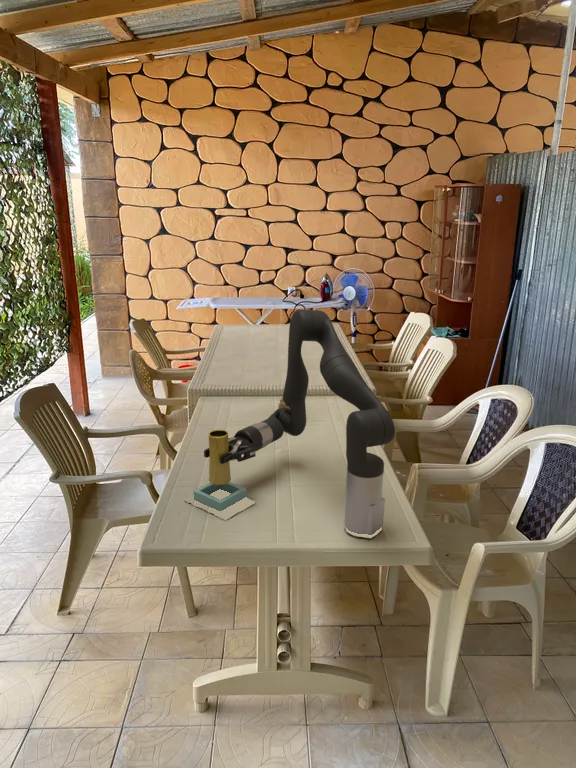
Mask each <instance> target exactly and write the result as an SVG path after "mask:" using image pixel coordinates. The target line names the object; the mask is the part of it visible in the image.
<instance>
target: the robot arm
mask: <svg viewBox="0 0 576 768" xmlns="http://www.w3.org/2000/svg"><path fill="white" fill-rule="evenodd" d="M289 321H290V322H289V328H288V345H287V347H288V348H287V369H286V376H285V381H284V382H285V383H284V388H283V392H282V393H283V394H282V397H283V401H284V403H285V404H286V405H288V406H289V408H290V409H288V408H285V407H282V408H277V409H276V410H275V411H274V412H273V413H272V414H271V415H269V416H268V418H266V419H265V420H262V421H260V422H256V423H253V424H251V425H249V426H246V427H244V428H241V429H239V430H238V431H236V432H235V434H234V435H233V437H232V436H231V437H228V446H229V452H228V453H226V454H224V455H222V456H220V458H219V462H220V464H224V463H227V462H228V461H229V462H231V461H237V462H240V463H241V462H243V461H246V460H249V459H253V458H254V457H256V456H257V455H256V452H258V451H260V450H262V449H263V448H265V447H267V446H268V445H270V444H272V443H273V442H276V441H278V440H280V439H281V438H282V437H283V435H284V433H286V434H288V435H290V436H293V437H297V436H300V435H302V434H303V432H304V430H305V428H306V425H307V411H306V408H307V407H306V399H307V398H306V397H307V394H308V389H309V382H310V381H309V375H308V374H309V373H308V371H307V368H306V365H305V363H304V359H303V356H302V355H303V354H302V346H303V343H304V342H316V343H318V344H319V345H320V346H321V348H322V351H323V353H322V355H321V358H320V361H319V372H320V374H321V376H322V378H323V380H324V381H325V383H326V385H327V387H328V389H330V391H331V392H333V394H335V396H338V397H339V398H341V399H343V400H344V401H346V402H348V403H350V404H351V405H352V406H354V407H355V408H357V409H358V410H355V411H352V412H350V413H349V414H348V416H347V418H346V419H347V420H346V424H345V425H346V426H345V427H346V428H345V429H346V432H345V434H346V435H345V438H346V442H345V445H346V449H345V450H346V451H345V456H346V462H347V463H346V466H347V467H346V485H345V501H344V519H343V522H344V523H343V524H344V525H345V527H346V528H347V529H348V530H349V531H351V532H354V533H357V534H368V535H372V534H374V533H375V532H376V531H377V530H379V529H380V528H381V527H382V526H383V525H384V514H385V501H386V499H385V497H382V496H383V486H384V485H383V484H384V474H385V473H384V470H385V462H384V460H383V459H382V457H380V456H379V455H377V454H374V453H372V452H368V451H367V450H368V448H371V447H378V446H382V445H383V446H384V445H386V444H390V443H391V442H392V441H393V440H394V438H395V435H396V428H395V423H394V421H393V418H392V416H391V414H390V413H389V411H388V410H387V408H386V407H385V405H383V403H382V402H381V401H380V400H379V399H378V397H377V395H375V393H374V392H373V390H372V389H371V388H370V387H369V385H368V383H367V382H366V381H365V379H364V378H363V376H362V374H361V373H360V370H359V369H358V367H357V366H356V364H355V362H353V360H352V358H351V356H350V355H349V354H348V352H347V350H346V349H345V346H344V345H343V343H342V341H341V340H340V338H339V336H338V333H337V331H336V329H335V327H334V324H333V322H332V321H331V319H330V317H329V316H328V314H327V313H326V312H325V311H323V310H320V309H319V310H318V309H304V308H301V309H295V311H293V313H292V315H291V318H290V320H289ZM242 455H243V456H242ZM203 457H204V458H207V459H208V458H209V447H208V448H206V449H204V451H203ZM344 525H343V526H344ZM383 527H384V526H383Z"/></svg>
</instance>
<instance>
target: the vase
mask: <svg viewBox="0 0 576 768" xmlns="http://www.w3.org/2000/svg"><path fill="white" fill-rule="evenodd" d="M228 438H229V433H228V431H227V430H224V429H213V430H210V431H209V433H208V448H209V457H208V458H209V459H208V461H209V463H208V464H209V466H208V467H209V468H208V471H209V472H208V474H209V475H208V476H209V477H208V481H209V483H212V484H214V485H224V484H227V483H229V482H231V480H232V478H231V466H230V464H231V463H230V461H228V462H227V463H224V464H220V462H219V458H220V456H222V455H224V454H226V453H228V452H229V446H228Z"/></svg>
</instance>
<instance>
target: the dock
mask: <svg viewBox="0 0 576 768" xmlns="http://www.w3.org/2000/svg"><path fill="white" fill-rule="evenodd" d="M219 489H221V490H224V491H227V492H229V493H231V494H230V495H229V496H227V497H225V498H223V499H221V500H219V499H217V498H215V497H213V496H210V494H211V493H213V492H215V491H217V490H219ZM193 494H194V500H196V501H198V502H200V503H202V504H204V505H207V506H209V507H211V508H214V509H216V510H218V511H222V510H224V509H226V508H227V507H229V506H231V505H233V504H235V503H236V502H238V501H240V500H242V499H243V498H245V497H247V488H245V487H243V486H241V485H239V484H237V483H233V482H231V481H230V482H229V483H227V484H224V485H214V484H212V483H210V482H209V483H206V484H205V485H202V486H200V487H199V488H197V489H195V490H193Z"/></svg>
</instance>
